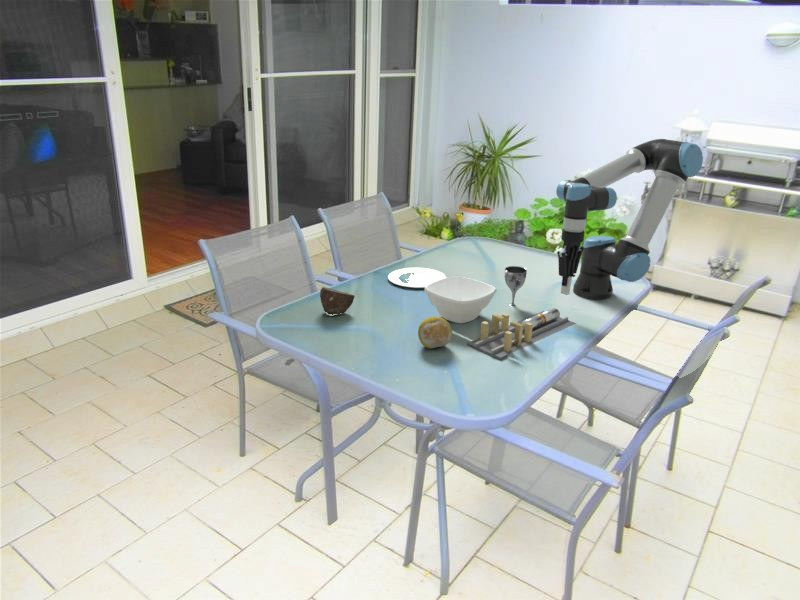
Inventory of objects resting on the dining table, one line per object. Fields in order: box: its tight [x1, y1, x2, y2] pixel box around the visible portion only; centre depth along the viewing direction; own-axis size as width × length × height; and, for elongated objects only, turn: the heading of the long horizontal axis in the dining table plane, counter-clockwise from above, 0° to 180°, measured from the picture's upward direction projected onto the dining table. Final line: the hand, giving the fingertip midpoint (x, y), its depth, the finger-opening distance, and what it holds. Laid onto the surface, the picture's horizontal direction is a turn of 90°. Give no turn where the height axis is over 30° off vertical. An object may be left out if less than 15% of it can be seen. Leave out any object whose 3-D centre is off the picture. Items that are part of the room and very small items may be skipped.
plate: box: [387, 267, 448, 289], centre depth 253 cm, size 25×25×2 cm
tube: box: [520, 307, 561, 333], centre depth 208 cm, size 18×4×4 cm, turn 131°
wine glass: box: [504, 265, 528, 307], centre depth 224 cm, size 8×8×15 cm
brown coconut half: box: [319, 286, 355, 315], centre depth 216 cm, size 12×10×10 cm
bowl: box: [423, 275, 497, 324], centre depth 214 cm, size 22×22×12 cm
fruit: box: [417, 316, 453, 349], centre depth 192 cm, size 10×11×10 cm
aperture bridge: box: [490, 313, 523, 347], centre depth 196 cm, size 2×12×7 cm, turn 41°
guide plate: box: [466, 310, 576, 361], centre depth 202 cm, size 41×14×7 cm, turn 131°
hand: (565, 293), depth 214 cm, fingers closed
